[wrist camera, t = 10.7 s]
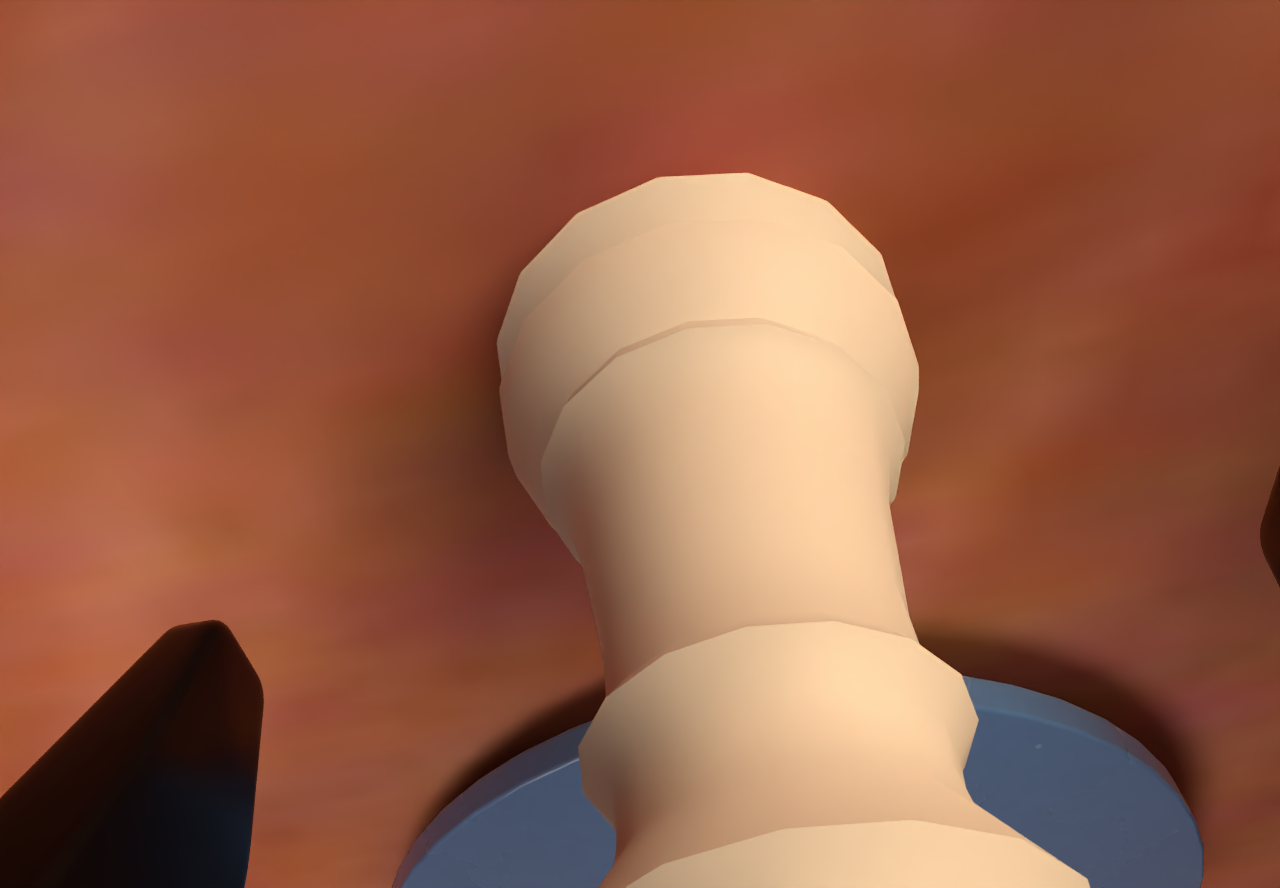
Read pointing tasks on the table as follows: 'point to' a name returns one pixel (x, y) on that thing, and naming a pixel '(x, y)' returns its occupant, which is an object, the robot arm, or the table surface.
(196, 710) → the robot arm
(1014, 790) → the lid
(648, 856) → the rook chess piece
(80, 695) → the table surface
